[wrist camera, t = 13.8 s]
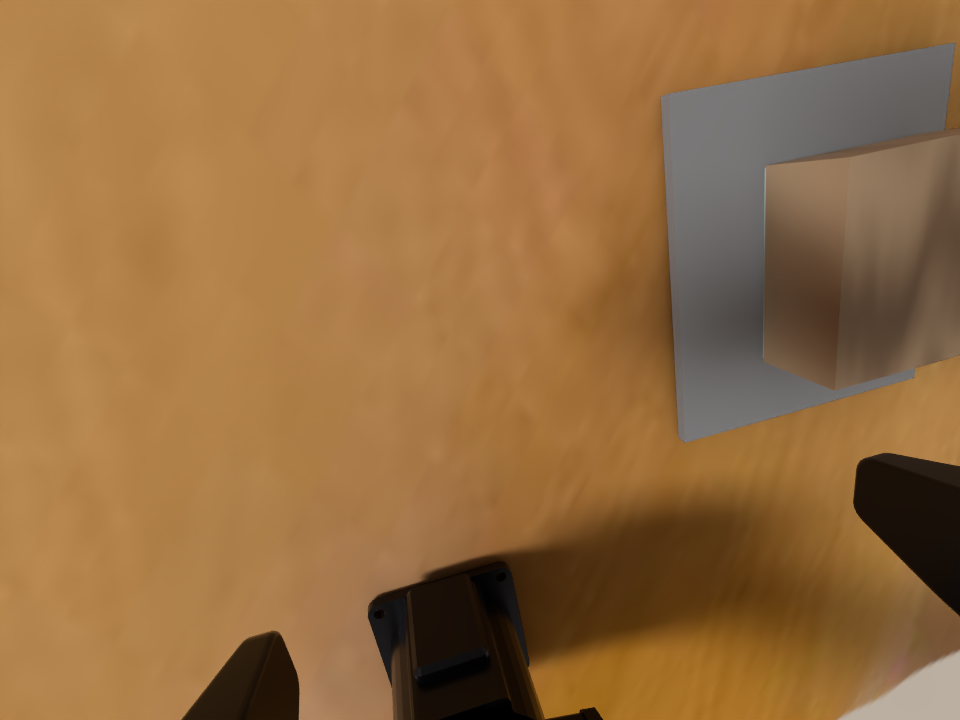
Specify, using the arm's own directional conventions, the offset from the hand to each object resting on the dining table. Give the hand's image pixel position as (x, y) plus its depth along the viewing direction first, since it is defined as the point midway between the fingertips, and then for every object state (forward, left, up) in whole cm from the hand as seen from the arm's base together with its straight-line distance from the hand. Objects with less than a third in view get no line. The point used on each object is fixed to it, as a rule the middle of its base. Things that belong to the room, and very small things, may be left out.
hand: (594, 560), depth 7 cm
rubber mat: (0, -15, -12) cm, 19 cm away
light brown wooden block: (0, -13, -10) cm, 16 cm away
